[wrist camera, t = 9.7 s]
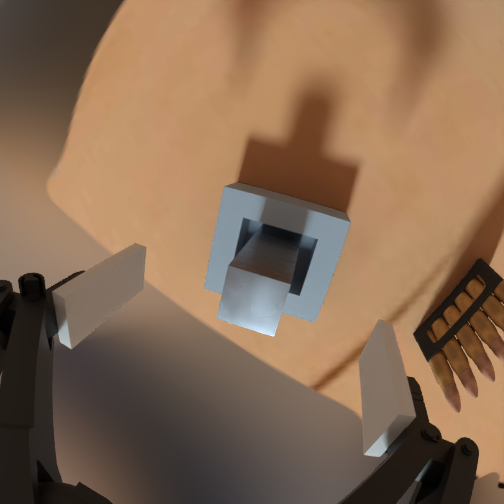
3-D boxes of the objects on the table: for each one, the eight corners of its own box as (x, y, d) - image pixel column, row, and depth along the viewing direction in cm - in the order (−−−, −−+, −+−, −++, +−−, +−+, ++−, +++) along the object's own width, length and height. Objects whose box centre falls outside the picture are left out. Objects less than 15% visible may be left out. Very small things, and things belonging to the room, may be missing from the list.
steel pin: (264, 222, 27) (228, 265, 16) (302, 233, 26) (290, 284, 16) (254, 258, 28) (216, 318, 18) (291, 269, 27) (273, 336, 17)
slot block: (237, 182, 27) (224, 186, 23) (346, 212, 26) (350, 222, 22) (218, 271, 30) (203, 288, 26) (316, 301, 29) (315, 322, 25)
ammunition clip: (479, 257, 24) (545, 312, 12) (488, 267, 24) (552, 324, 12) (412, 334, 28) (443, 416, 16) (422, 342, 28) (454, 423, 16)
